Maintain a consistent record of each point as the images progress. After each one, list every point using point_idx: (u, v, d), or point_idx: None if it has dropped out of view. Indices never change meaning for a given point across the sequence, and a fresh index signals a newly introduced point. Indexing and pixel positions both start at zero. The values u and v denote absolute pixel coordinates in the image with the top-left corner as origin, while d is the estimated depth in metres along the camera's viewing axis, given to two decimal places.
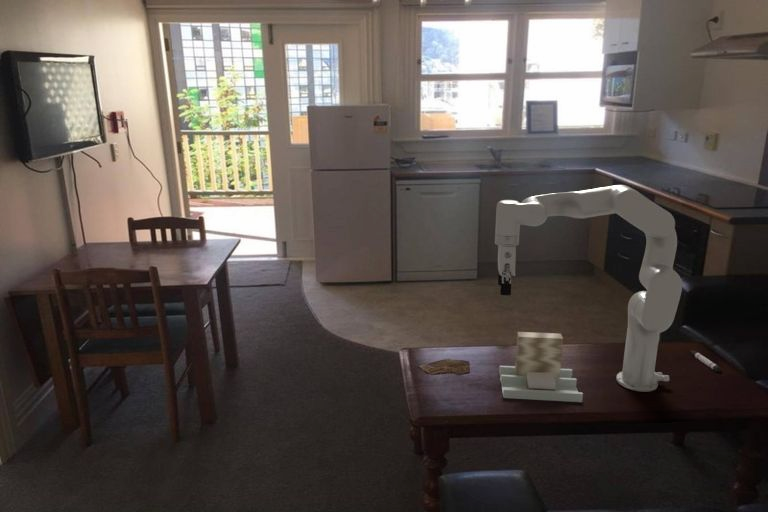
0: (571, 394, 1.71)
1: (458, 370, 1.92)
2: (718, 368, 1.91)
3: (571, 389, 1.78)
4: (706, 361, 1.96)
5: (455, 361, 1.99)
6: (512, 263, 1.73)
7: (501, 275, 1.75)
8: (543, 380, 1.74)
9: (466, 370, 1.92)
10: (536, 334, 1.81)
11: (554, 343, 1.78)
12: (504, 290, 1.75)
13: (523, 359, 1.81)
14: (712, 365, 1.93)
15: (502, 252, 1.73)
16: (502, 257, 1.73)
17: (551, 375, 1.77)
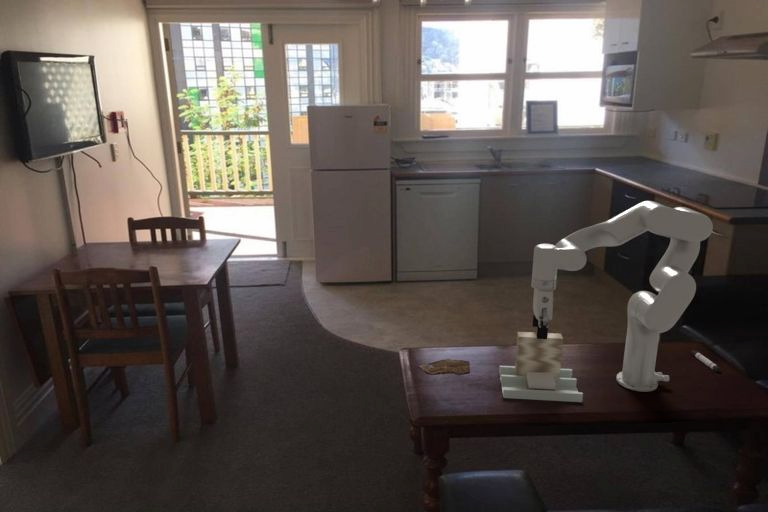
0: (571, 394, 1.71)
1: (458, 370, 1.92)
2: (718, 368, 1.91)
3: (571, 389, 1.78)
4: (706, 361, 1.96)
5: (455, 361, 1.99)
6: (549, 308, 1.72)
7: (538, 319, 1.74)
8: (543, 380, 1.74)
9: (466, 370, 1.92)
10: (536, 334, 1.81)
11: (554, 343, 1.78)
12: (541, 334, 1.74)
13: (523, 359, 1.81)
14: (712, 365, 1.93)
15: (539, 296, 1.72)
16: (539, 301, 1.72)
17: (551, 375, 1.77)
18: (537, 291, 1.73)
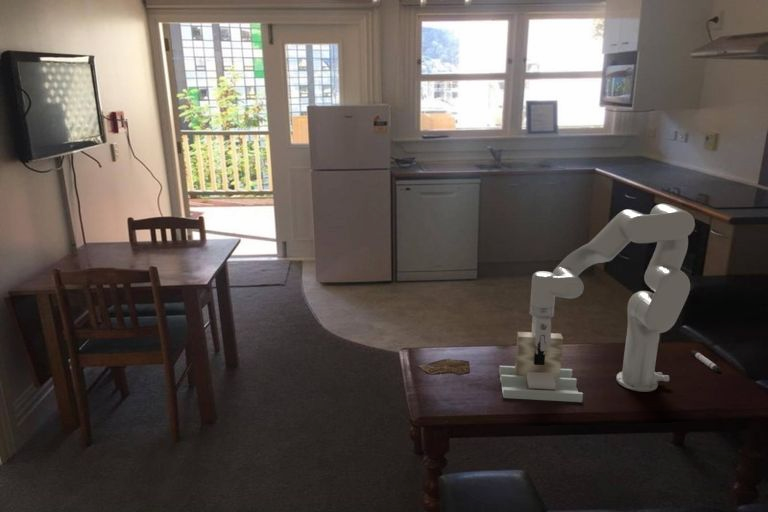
0: (571, 394, 1.71)
1: (458, 370, 1.92)
2: (717, 368, 1.91)
3: (571, 389, 1.78)
4: (706, 361, 1.96)
5: (455, 361, 1.99)
6: (547, 334, 1.75)
7: None
8: (543, 380, 1.74)
9: (466, 370, 1.92)
10: None
11: (554, 343, 1.78)
12: (538, 360, 1.79)
13: (523, 359, 1.81)
14: (712, 365, 1.93)
15: (538, 324, 1.75)
16: (538, 328, 1.75)
17: (551, 375, 1.77)
18: (535, 318, 1.76)
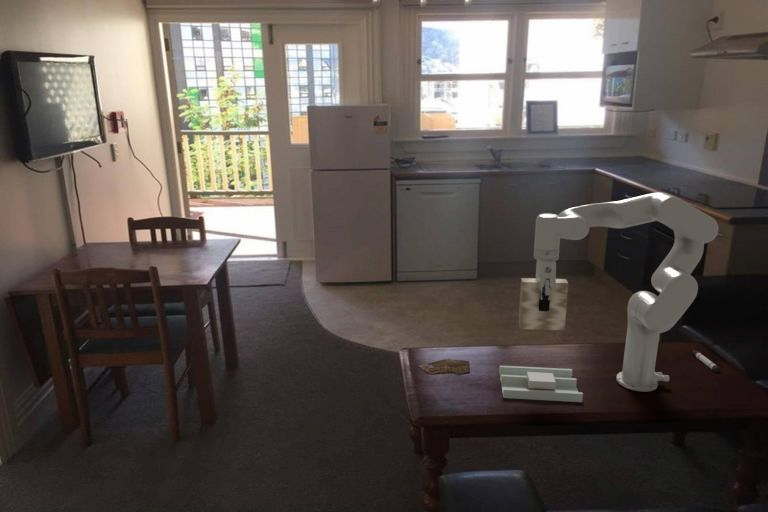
0: (571, 394, 1.71)
1: (458, 370, 1.92)
2: (717, 368, 1.91)
3: (571, 389, 1.78)
4: (706, 361, 1.96)
5: (455, 361, 1.99)
6: (552, 278, 1.70)
7: None
8: (543, 380, 1.74)
9: (466, 370, 1.92)
10: None
11: (559, 288, 1.73)
12: (543, 306, 1.74)
13: (527, 305, 1.76)
14: (711, 365, 1.93)
15: (542, 267, 1.70)
16: (542, 272, 1.70)
17: (551, 375, 1.77)
18: (540, 262, 1.71)
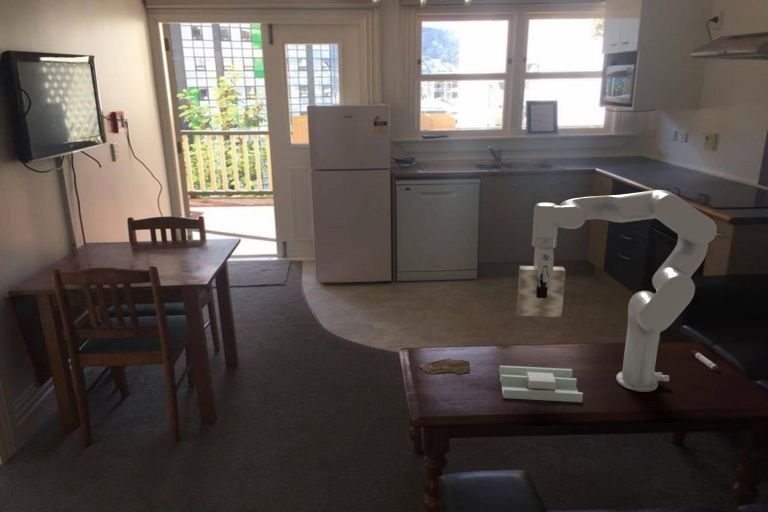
0: (571, 394, 1.71)
1: (458, 370, 1.92)
2: (717, 368, 1.91)
3: (571, 389, 1.78)
4: (706, 361, 1.96)
5: (455, 361, 1.99)
6: (550, 265, 1.74)
7: (538, 279, 1.77)
8: (543, 380, 1.74)
9: (466, 370, 1.92)
10: None
11: (556, 276, 1.77)
12: (540, 293, 1.78)
13: (525, 292, 1.80)
14: (711, 365, 1.93)
15: (540, 254, 1.74)
16: (540, 259, 1.74)
17: (551, 375, 1.77)
18: (538, 249, 1.75)
